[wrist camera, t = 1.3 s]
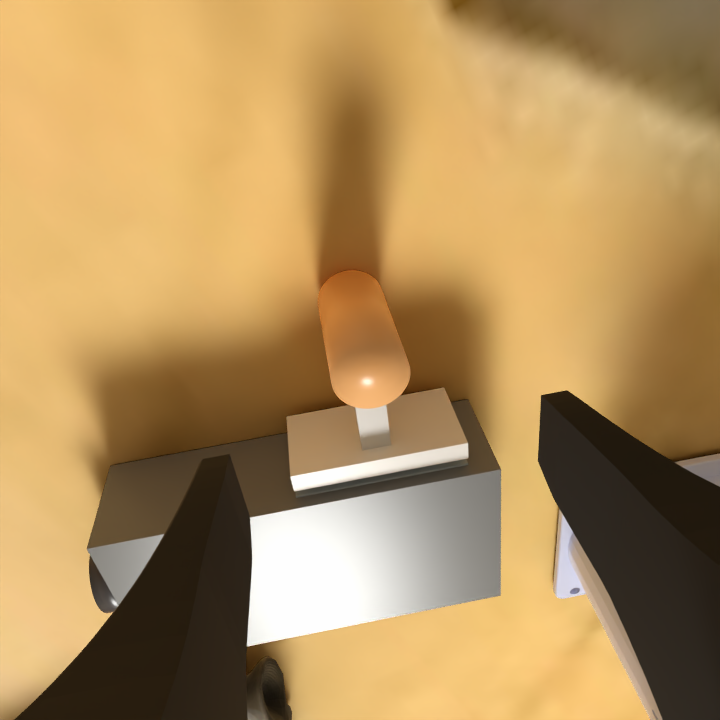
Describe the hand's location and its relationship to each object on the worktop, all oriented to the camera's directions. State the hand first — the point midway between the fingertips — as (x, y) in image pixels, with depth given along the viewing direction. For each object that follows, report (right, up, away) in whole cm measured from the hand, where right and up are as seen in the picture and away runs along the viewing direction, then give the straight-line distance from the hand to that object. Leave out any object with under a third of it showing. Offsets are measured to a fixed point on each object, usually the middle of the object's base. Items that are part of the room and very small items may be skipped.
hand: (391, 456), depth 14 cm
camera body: (-3, -3, +12) cm, 13 cm away
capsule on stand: (-1, +3, +8) cm, 8 cm away
